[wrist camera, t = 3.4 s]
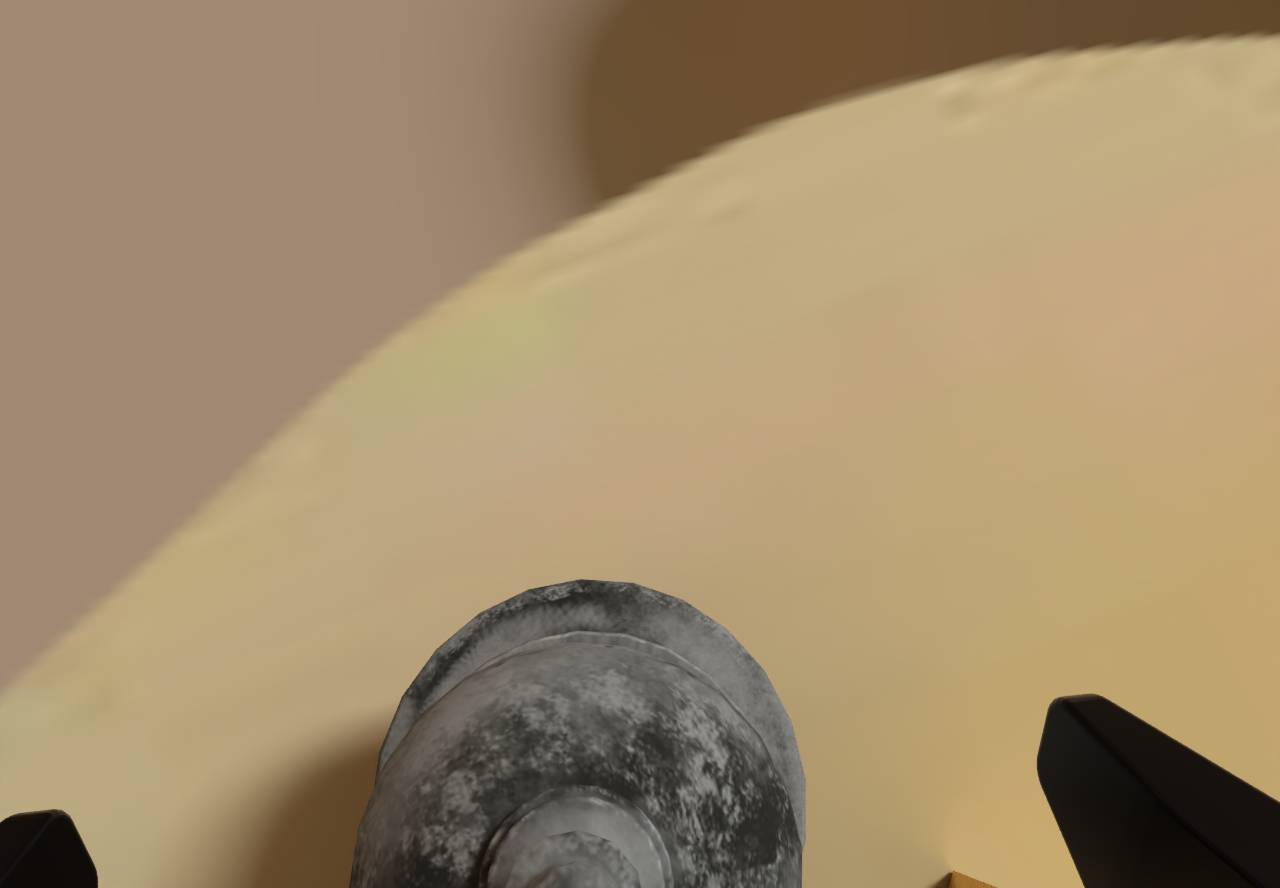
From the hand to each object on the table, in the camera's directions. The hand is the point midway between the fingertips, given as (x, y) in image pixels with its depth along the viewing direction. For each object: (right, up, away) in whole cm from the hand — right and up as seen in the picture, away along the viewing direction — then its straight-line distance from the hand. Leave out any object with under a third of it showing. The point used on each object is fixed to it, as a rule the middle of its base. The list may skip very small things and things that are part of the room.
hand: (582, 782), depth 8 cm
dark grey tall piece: (0, -3, +7) cm, 8 cm away
